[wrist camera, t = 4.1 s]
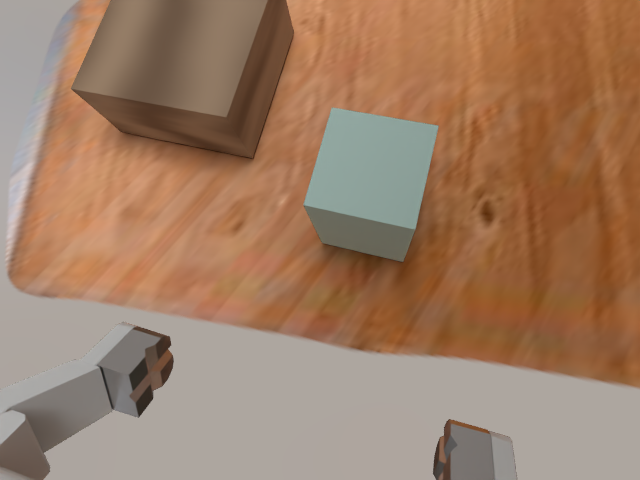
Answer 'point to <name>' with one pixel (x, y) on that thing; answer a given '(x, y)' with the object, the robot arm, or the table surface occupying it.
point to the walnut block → (188, 69)
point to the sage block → (370, 182)
